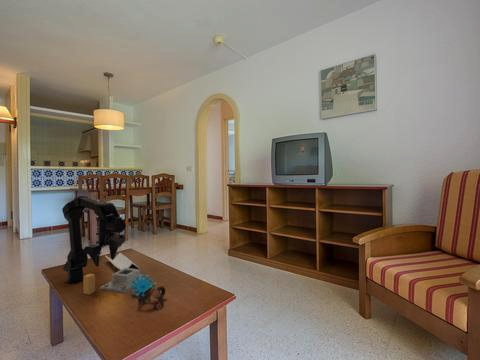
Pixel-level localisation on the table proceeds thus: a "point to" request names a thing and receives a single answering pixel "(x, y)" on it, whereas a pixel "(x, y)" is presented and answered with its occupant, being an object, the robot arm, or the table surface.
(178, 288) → the table surface
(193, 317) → the table surface
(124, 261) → the z bracket
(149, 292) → the dark brown loop tangle
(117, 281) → the bracket collar
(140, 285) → the gear
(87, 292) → the wedge pin
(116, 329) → the table surface
